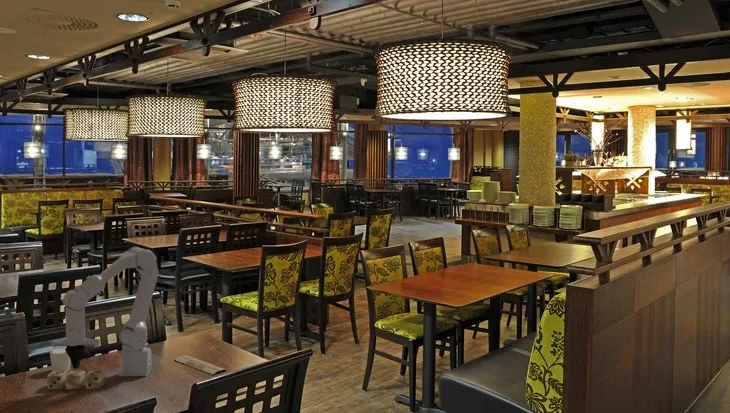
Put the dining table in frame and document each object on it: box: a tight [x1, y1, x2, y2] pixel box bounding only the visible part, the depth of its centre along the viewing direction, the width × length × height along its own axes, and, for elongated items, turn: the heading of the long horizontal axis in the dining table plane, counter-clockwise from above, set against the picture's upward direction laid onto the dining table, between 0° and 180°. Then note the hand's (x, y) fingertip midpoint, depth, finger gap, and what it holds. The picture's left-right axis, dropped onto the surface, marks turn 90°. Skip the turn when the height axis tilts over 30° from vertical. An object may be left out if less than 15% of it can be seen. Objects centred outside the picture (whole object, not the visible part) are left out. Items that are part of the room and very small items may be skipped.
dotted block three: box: [47, 371, 68, 390], centre depth 204 cm, size 4×5×5 cm
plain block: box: [65, 370, 86, 390], centre depth 204 cm, size 4×4×4 cm
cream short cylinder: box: [49, 347, 71, 372], centre depth 219 cm, size 7×7×7 cm
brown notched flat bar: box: [174, 354, 226, 376], centre depth 226 cm, size 24×7×2 cm, turn 51°
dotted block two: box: [85, 369, 106, 389], centre depth 205 cm, size 4×5×5 cm
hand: (76, 367), depth 204 cm, fingers closed
